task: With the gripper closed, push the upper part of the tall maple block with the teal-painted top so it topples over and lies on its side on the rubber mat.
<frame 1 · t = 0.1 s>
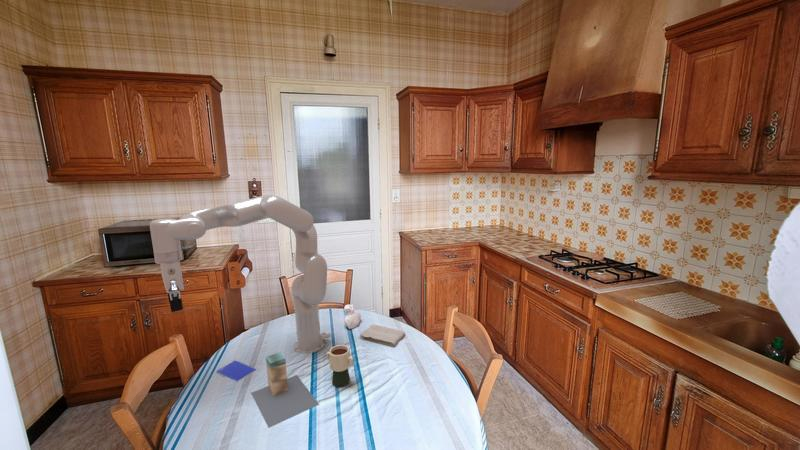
hand: (175, 305, 115), 31 cm above the table, tool pointing down, fingers open, 9 cm apart
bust: (351, 325, 166), on the table
character mug: (341, 383, 122), on the table
washcloth: (382, 338, 154), on the table
maple block: (278, 389, 119), point 1 cm above the table, touching rubber mat
rubber mat: (284, 400, 114), on the table
hard drive: (236, 373, 130), on the table
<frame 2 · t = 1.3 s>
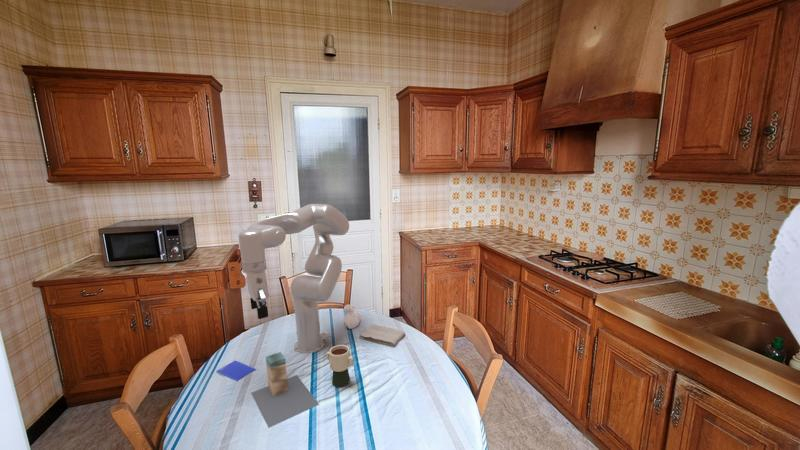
hand: (259, 312, 120), 26 cm above the table, tool pointing down, fingers open, 9 cm apart
nothing on the table moved.
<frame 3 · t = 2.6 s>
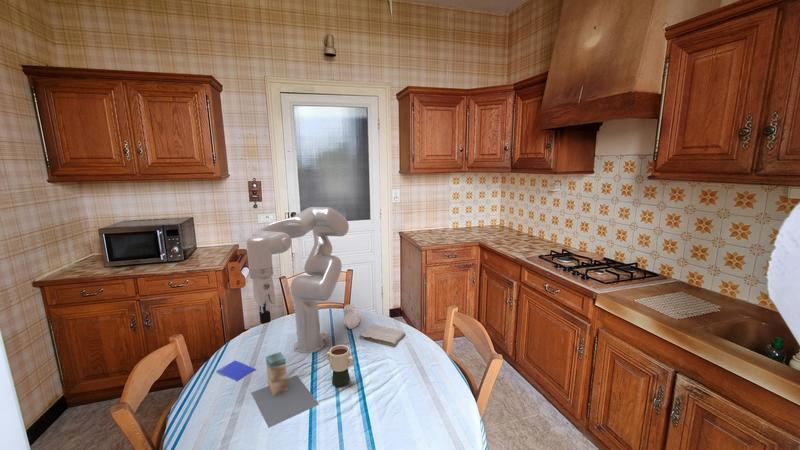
hand: (265, 322, 120), 23 cm above the table, tool pointing down, fingers closed
nothing on the table moved.
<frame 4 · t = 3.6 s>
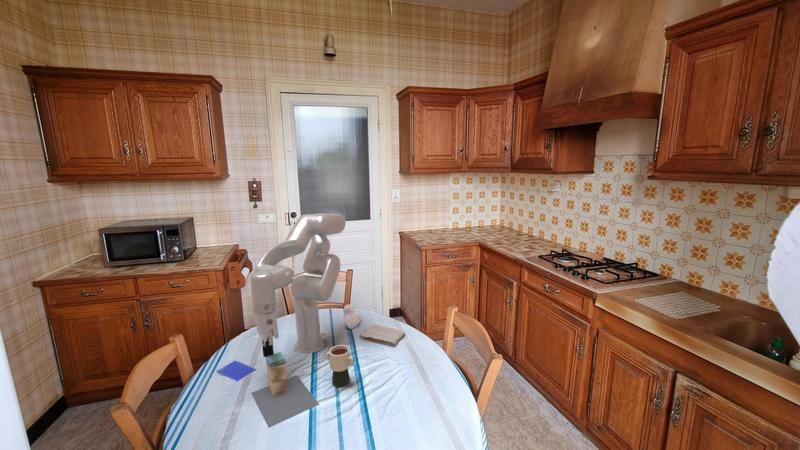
hand: (268, 355, 122), 10 cm above the table, tool pointing down, fingers closed
nothing on the table moved.
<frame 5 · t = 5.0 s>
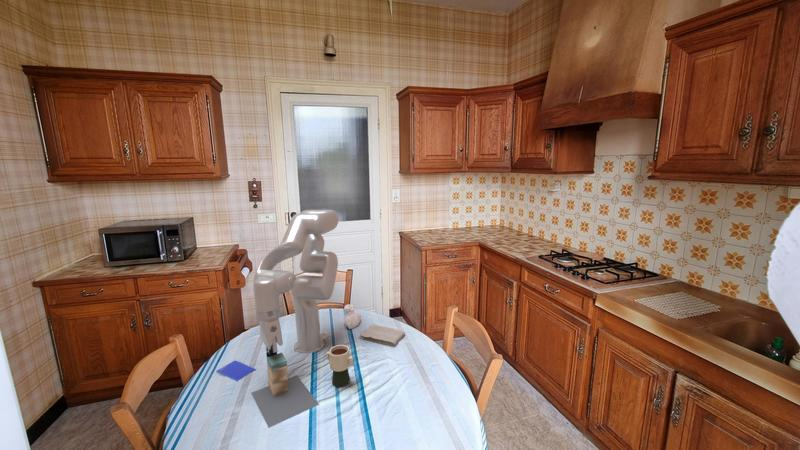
hand: (272, 362, 120), 9 cm above the table, tool pointing down, fingers closed
maple block: (278, 388, 119), point 1 cm above the table, tilted 7°, touching gripper, rubber mat
everything else where it was.
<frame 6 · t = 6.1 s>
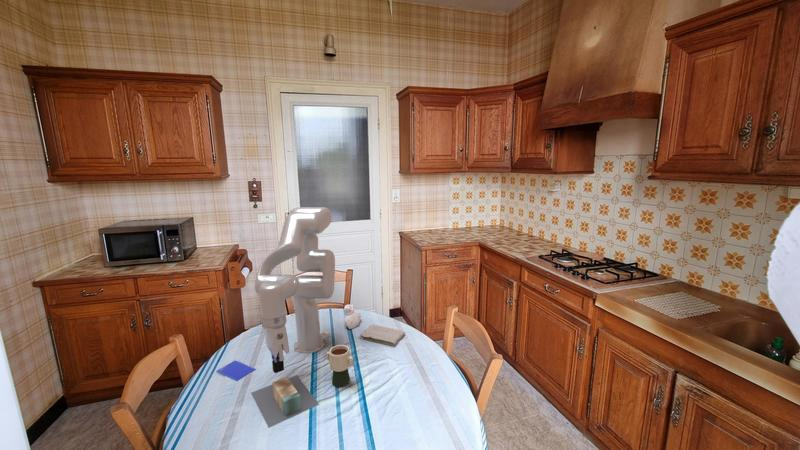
hand: (278, 370, 115), 9 cm above the table, tool pointing down, fingers closed
maple block: (280, 386, 116), point 3 cm above the table, tilted 90°, touching rubber mat
everything else where it was.
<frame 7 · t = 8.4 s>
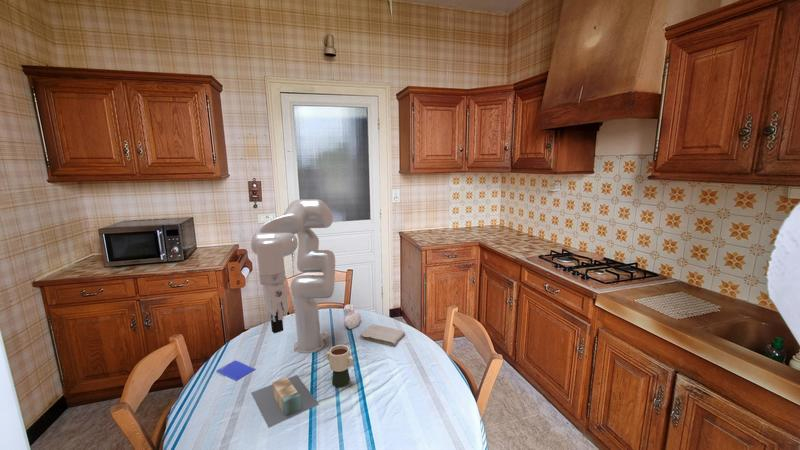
hand: (277, 331, 111), 24 cm above the table, tool pointing down, fingers closed
nothing on the table moved.
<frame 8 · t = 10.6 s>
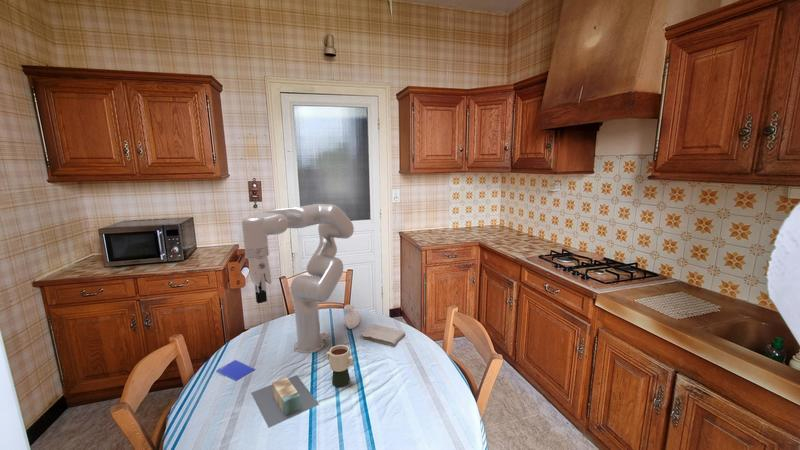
hand: (261, 301, 122), 29 cm above the table, tool pointing down, fingers closed
nothing on the table moved.
at the end: maple block tilted 90°; maple block inside the target area (3.5 cm from its centre), point 3.1 cm above the table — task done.
